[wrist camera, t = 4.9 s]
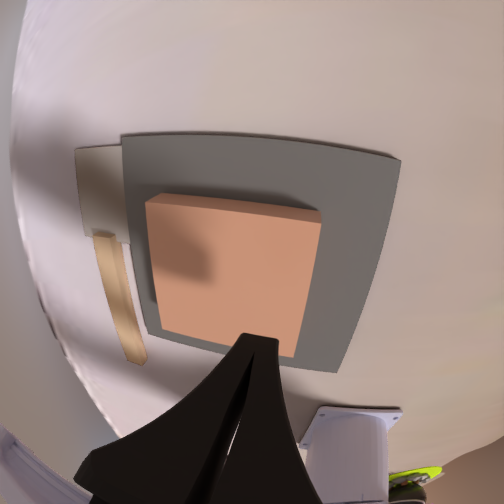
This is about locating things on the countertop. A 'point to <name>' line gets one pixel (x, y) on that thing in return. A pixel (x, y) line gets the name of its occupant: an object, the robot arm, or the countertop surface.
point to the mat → (277, 193)
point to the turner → (109, 236)
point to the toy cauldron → (410, 485)
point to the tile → (231, 267)
